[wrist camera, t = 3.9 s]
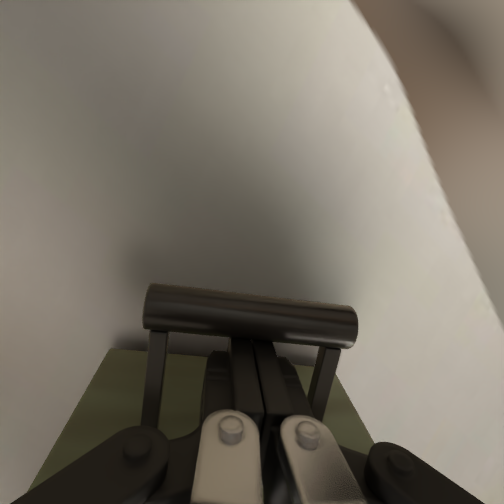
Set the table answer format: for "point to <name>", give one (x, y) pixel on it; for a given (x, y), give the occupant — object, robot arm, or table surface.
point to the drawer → (193, 368)
